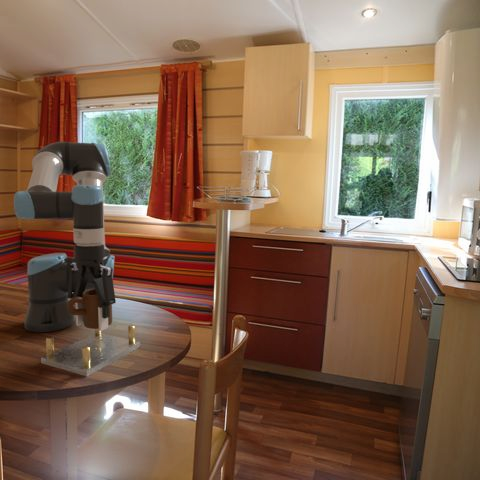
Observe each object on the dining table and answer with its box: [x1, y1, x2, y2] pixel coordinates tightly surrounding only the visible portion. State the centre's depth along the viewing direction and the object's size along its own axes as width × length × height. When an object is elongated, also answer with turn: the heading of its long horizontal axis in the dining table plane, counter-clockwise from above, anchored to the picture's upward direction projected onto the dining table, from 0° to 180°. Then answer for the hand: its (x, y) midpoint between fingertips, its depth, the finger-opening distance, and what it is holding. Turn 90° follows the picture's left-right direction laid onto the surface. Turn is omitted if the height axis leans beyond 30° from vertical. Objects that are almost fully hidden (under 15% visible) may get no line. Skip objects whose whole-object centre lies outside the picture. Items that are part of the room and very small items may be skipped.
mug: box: [67, 289, 113, 330], centre depth 108 cm, size 12×8×9 cm, turn 138°
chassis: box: [40, 324, 141, 377], centre depth 109 cm, size 16×20×6 cm
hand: (92, 326), depth 108 cm, fingers closed on mug, 7 cm apart
